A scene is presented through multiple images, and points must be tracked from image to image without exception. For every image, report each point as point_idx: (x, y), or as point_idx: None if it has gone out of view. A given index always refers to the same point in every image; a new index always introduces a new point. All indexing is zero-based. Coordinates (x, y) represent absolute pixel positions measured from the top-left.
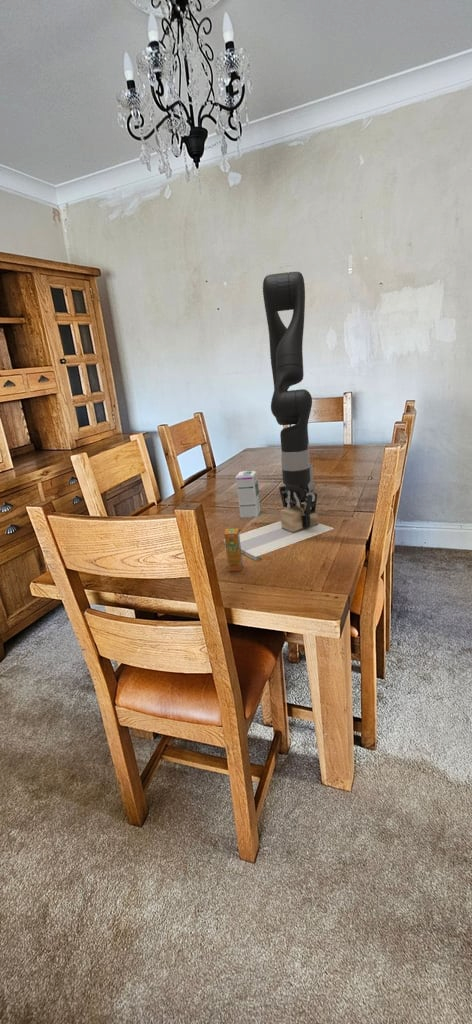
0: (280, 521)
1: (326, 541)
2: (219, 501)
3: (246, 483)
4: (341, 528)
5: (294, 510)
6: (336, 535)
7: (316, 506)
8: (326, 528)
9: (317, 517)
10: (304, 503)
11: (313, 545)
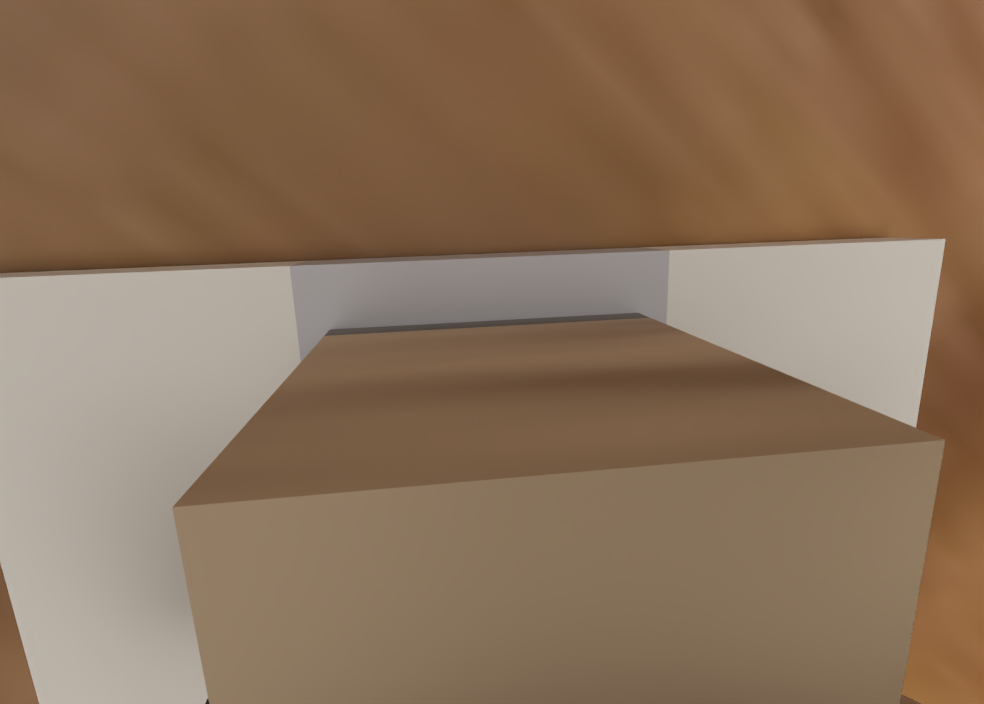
0: (56, 672)
1: (974, 486)
2: None
3: None
4: (864, 40)
5: None
6: (962, 283)
7: (933, 467)
8: (852, 325)
9: (703, 346)
10: (280, 617)
11: (929, 642)
